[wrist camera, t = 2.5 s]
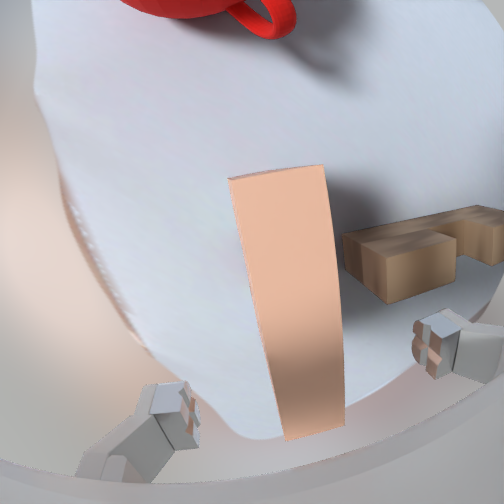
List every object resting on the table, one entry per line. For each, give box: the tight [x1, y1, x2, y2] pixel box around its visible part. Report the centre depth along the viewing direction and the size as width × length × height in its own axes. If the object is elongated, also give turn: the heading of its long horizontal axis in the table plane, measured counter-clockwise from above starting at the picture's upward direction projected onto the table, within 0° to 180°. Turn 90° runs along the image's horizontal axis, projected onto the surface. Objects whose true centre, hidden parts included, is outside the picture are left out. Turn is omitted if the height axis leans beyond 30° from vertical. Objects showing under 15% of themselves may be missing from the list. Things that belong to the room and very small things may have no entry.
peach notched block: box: [227, 165, 345, 441], centre depth 16 cm, size 3×12×12 cm, turn 11°
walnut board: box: [342, 205, 504, 305], centre depth 20 cm, size 16×3×7 cm, turn 101°
